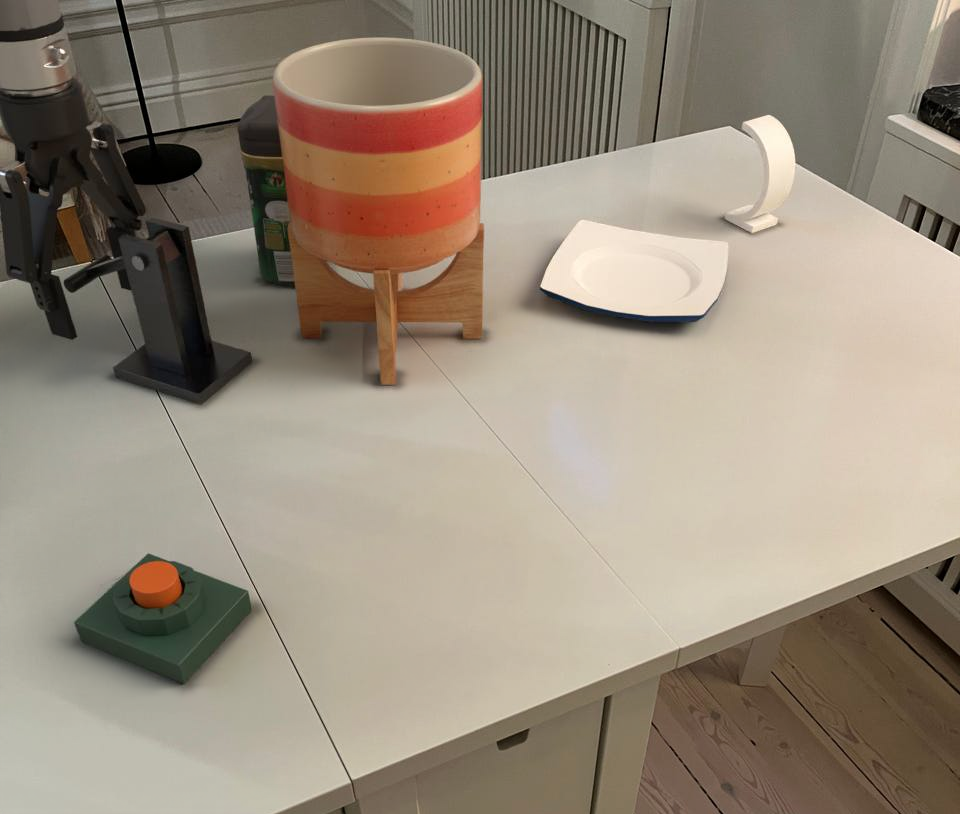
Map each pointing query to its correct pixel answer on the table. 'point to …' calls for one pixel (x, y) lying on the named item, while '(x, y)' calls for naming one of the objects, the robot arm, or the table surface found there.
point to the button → (155, 584)
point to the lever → (116, 264)
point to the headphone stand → (768, 174)
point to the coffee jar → (267, 189)
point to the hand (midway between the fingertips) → (100, 311)
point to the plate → (636, 273)
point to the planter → (383, 183)
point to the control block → (166, 622)
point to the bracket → (173, 321)
